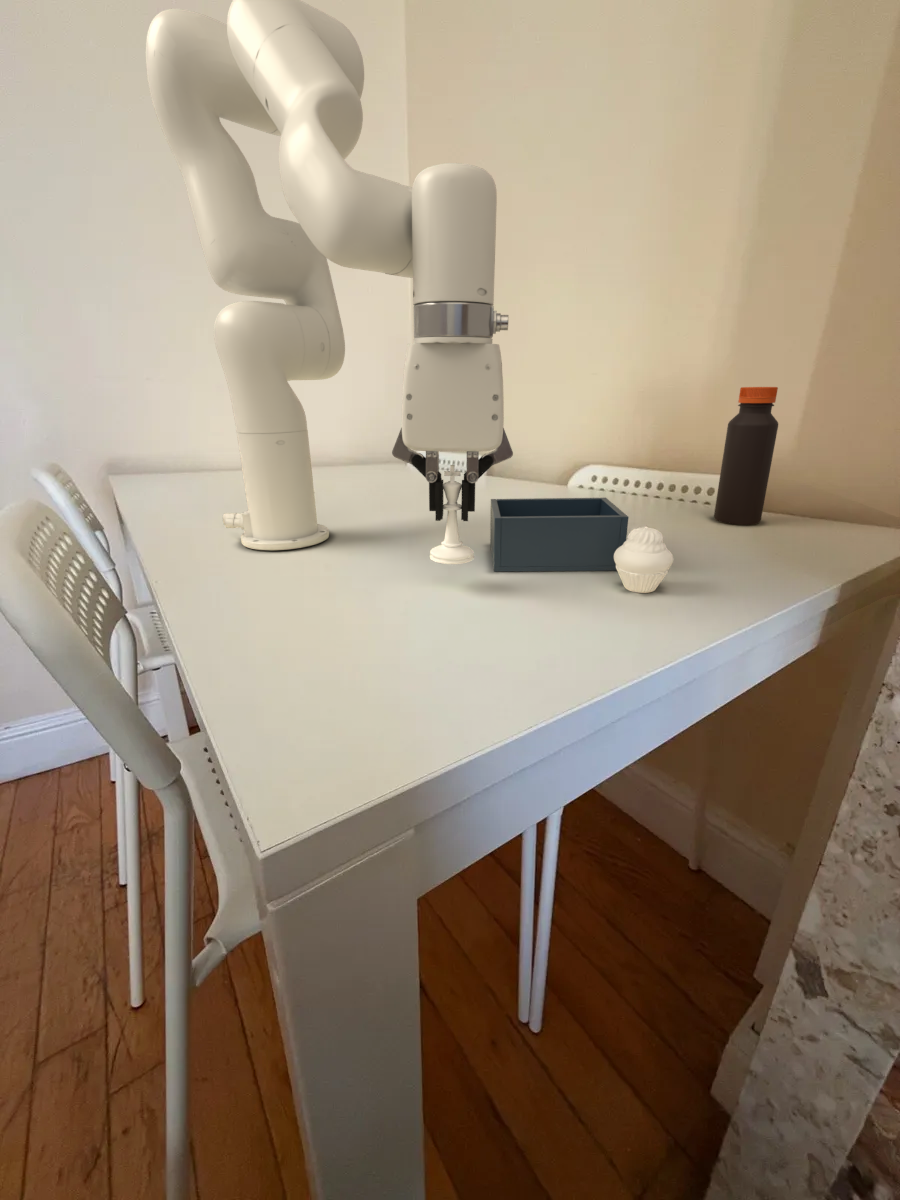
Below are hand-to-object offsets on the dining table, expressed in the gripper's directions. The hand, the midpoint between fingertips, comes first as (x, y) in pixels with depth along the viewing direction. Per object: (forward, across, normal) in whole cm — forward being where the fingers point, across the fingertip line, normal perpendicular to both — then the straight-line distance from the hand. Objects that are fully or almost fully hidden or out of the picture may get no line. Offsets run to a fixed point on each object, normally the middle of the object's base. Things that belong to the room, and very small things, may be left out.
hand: (452, 516), depth 61 cm
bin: (+8, -13, -11) cm, 19 cm away
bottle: (+8, -45, -30) cm, 55 cm away
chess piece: (+5, 0, 0) cm, 5 cm away
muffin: (+8, -21, +1) cm, 22 cm away
